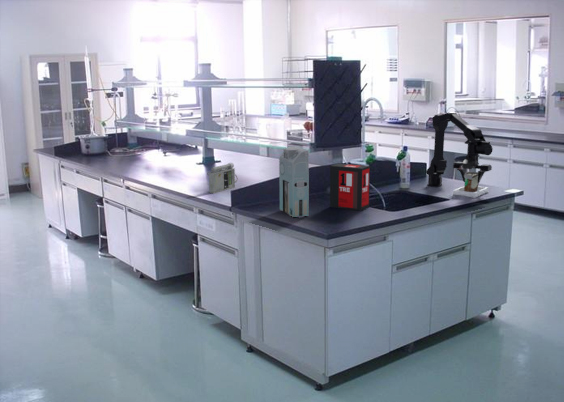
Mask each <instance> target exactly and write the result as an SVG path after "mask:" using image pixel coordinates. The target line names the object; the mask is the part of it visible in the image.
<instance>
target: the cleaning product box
mask: <svg viewBox="0 0 564 402" xmlns="http://www.w3.org/2000/svg"><path fill="white" fill-rule="evenodd" d="M329 168H330V169H329V170H330V172H329V208H336V209H344V210H353V211H360V212H362V211H364V210H367V209H368V208H370V192H371V191H370V187H371V184H370V183H371V182H370V181H371V180H370V179H371V166H370V165H364V164H363V165H361V164H353V163H352V164H351V163H349V164H348V163H341V162H340V163H339V162H338V163H336V164H335V163H334V164H332V165H330V167H329Z"/></svg>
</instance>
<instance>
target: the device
mask: <svg viewBox="0 0 564 402" xmlns="http://www.w3.org/2000/svg"><path fill="white" fill-rule="evenodd" d="M309 155H310V154H309V150H308V149H305V148H301V147H298V146H294V145H293V146H288V147H287V148H286V147H285V148H283V152H282V153H281V154H280V155H279V158H278V160H279V161H278V162H279V163H278V164H279V165H278V167H279V170H278V171H279V173H278V174H279V175H278V176H279V180H278V181H279V182H278V183H279V211H280V212H283V213H285V212H286V213H288V214H289V215H288V214H287V215H288V216H289V217H291V216H292V218H293V217H297V216H310V215H309V209H310V208H309V201H310V200H309V196H310V195H309V193H310V188H309V180H310V179H309V178H310V177H309V175H310V173H309V172H310V170H309V169H310V168H309V166H310V165H309V164H310V161H309V160H310V159H309V157H310V156H309ZM286 213H285V214H286Z"/></svg>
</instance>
